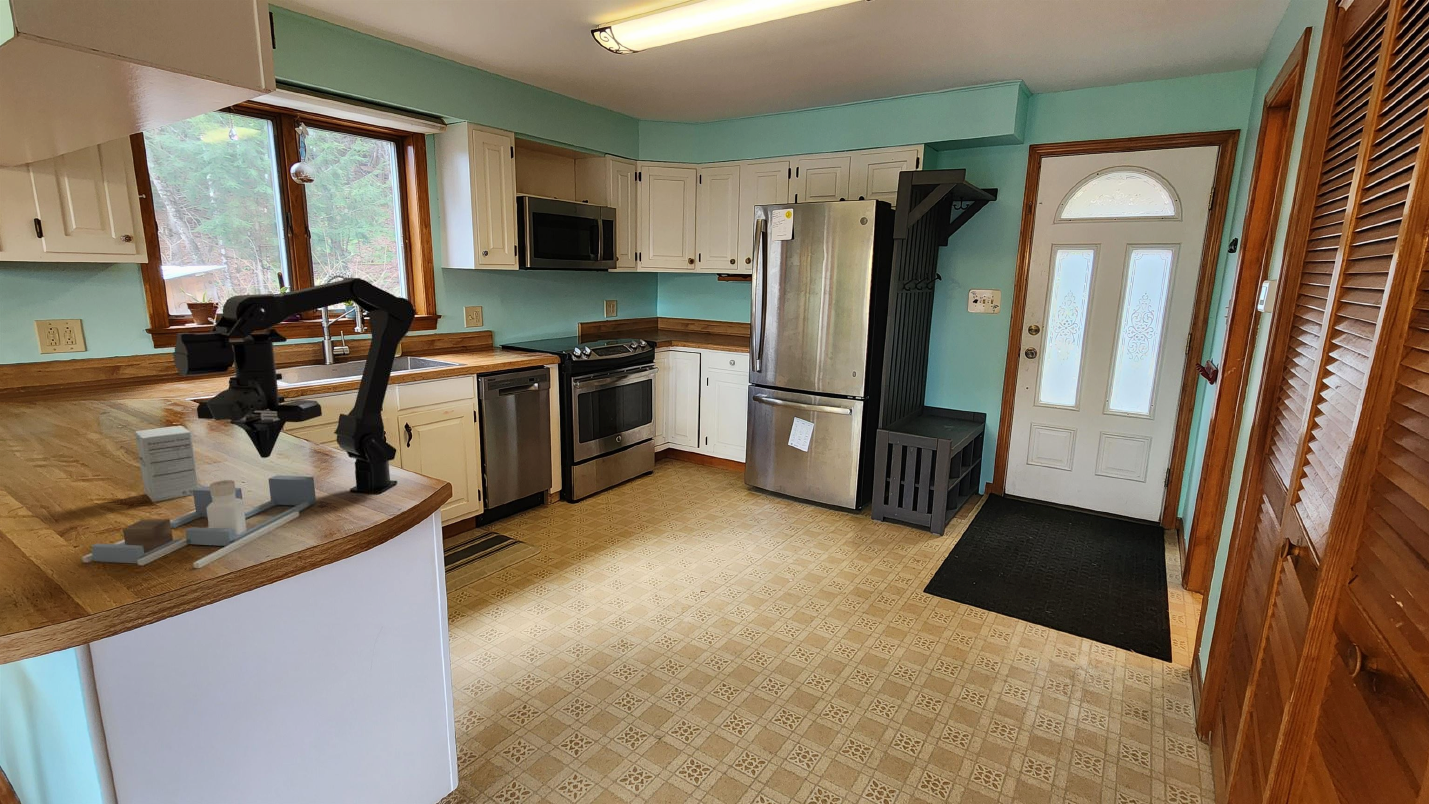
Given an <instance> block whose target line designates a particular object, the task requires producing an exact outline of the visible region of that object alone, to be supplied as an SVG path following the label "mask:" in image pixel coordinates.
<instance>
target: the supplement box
mask: <svg viewBox="0 0 1429 804" xmlns="http://www.w3.org/2000/svg"><path fill="white" fill-rule="evenodd" d="M134 436H135V441H136V442H135V443H136V449H137V454H138V460H139V461H138V462H139V466H140V474H141V477H142V486H143V490H144V494H145V495H146V496H148V497H149V499H150V500H151V502H153V503H157V502H161V501H162V502H163V501H167V500H168V501H169V500H173V499H178V498H182V497H188V496H193V490H194V489H196V488H199V480H198V479H199V478H198V473H197V464H196V460H195V459H196V457H195V451H194V445H193V444H194V443H193V437H192V432H191V431H189V429H188V428H185V426H182V425H174V426H166V427H165V426H164V427H159V428H151V429H143V430H136V431H134Z"/></svg>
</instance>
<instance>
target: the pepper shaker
mask: <svg viewBox="0 0 1429 804" xmlns="http://www.w3.org/2000/svg"><path fill="white" fill-rule="evenodd" d="M209 487H210V492H211V497H212V501H213V502H212V503H210V504H209V505H208V507H207V508H206V509H207V516H208V517H207V522H208V525H209V528H216V529H234V535H235V536H237V535H239V534H241V533H243V532H245V531H247V530H248V529H247V522H246V518H245V514H244V511H245V508H244V507H245V506H244V499H243V498H242V499H243V500H242V499H238V498H236V496H235V493H236V491H235V488H236V485H235V480H232V479H231V480H229V479H226V480H225V479H224V480H219V481H215V482H212V483H210V484H209Z"/></svg>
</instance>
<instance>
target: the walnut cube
mask: <svg viewBox="0 0 1429 804" xmlns="http://www.w3.org/2000/svg"><path fill="white" fill-rule="evenodd" d="M170 520H171V519H170V518H153V519H152V518H151V519H150V518H149V519H147V518H146V519H141V520H139V521H137V522H134V523H133V524H130V525H128V526H126V527H124V528H122V533H123V538H124V539H123V540H125V545H140V546H143V549H144V553H147V552H149V551H151V550H153V549H155V548H158V547H160V546H162V545H164V544H167V543H169V542H171V541H173V540H174V537H173V533H172V528H171V524H170Z"/></svg>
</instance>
